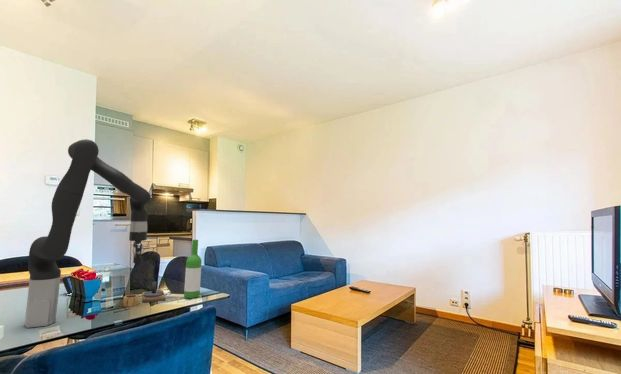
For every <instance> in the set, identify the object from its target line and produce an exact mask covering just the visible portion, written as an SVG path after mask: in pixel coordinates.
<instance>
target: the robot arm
mask: <svg viewBox="0 0 621 374" xmlns="http://www.w3.org/2000/svg"><path fill="white" fill-rule="evenodd" d="M99 152H100V151H99V147H98V144H97V143H96V142H95V141H93V140H92V139H80V140H77V141H75V142H73V143H71V144H70V145H69V146H68V148H67V154H68V157H70V158H71V162H70V166H69V167H68V169H67V171H66V173H65V174H64V175H63V177H62V178H61V180H60V181H59V183H58V185H57V187H56V189H55V192H54V194H53V197H52V201H51V216H52V222H51V228H50V229H49V231H48V234H47V235H46V236H40V237H38V238H36V239H35V240H33V242H32V243H31V244H30V248H29V252H28V264H27V265H28V266H27V268H28V269H27V270H28V273H29V281H28V291H27V298H26V299H27V300H26V307H25V318H24V327H25V328H27V329H28V328H29V329H30V328H37V327H45V326H46V327H47V326H49V325H51V324H53V323H56V321H57V314H58V313H57V312H58V304H59V303H58V302H59V293H60V284H61V283H60V282H61V276H62V270H61V268H59V267H58V264H57V261H58V260H60V259H62V258H64V256H65V255H66V253H67V252H68V249H69V245H70V241H71V235H72V230H73V226H74V223H75V220H76V217H77V214H78V210H79V208H80V205H81V202H82V199H83V197H84V192H85V189H86V187H87V184H88V179H89V176H90V173H91V171H92V172H94V173H95V174H97V175H99V176H100V177H101V178H102V179H104V180H105V181H107V182H108V183H109V184H111V186H113V187H114V188H116V189H117V190H118V191H120V193H122V194H125V195H128V196H129V206H130V211H131V215H130V225H129V235H128V236H129V238H128V239H129V240H128V241H131V242H133V244H132V255H133V262H132V263H133V264H134V266H137V267H138V266H140V265H141V258H142V253H143V244H142V242H143V241H144V242H145V241H146V240H147V239H148V238H147V237H148V210H147V209H146V208H145V205H147V204H149V203H150V201H151V198H152V196H151V193H150V192H149V191H148V190H147V189H145V188H144V187H142V186H141V185H139V184H137V183H135V182H134V181H133V180H132V179H131V178H130V177H128V176H127V175H126V174H124V173H123V172H122V171H120V170H118V169H117V168H115V167H113V166H111V165H109V164H107V163H106V162H104V160H102V159H100V158H99V157H98V156H99Z"/></svg>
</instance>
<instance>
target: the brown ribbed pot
mask: <svg viewBox="0 0 621 374" xmlns="http://www.w3.org/2000/svg"><path fill="white" fill-rule="evenodd" d="M137 306H139V294H127V295H124V296H123V301H122V307H125V308H131V307H132V308H133V307H137Z"/></svg>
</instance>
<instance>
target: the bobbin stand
mask: <svg viewBox="0 0 621 374" xmlns="http://www.w3.org/2000/svg"><path fill="white" fill-rule="evenodd" d="M141 300H142V304H145V303H155V302H165V301H166V296H165V292H164V290H157V281H152V282H151V290H150V291H149V290H148V291H142V292H141Z"/></svg>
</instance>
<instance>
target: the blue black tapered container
mask: <svg viewBox="0 0 621 374" xmlns="http://www.w3.org/2000/svg"><path fill="white" fill-rule="evenodd" d="M70 276H71V275H69V276H64V277H62V279H61V281H62V283H63V285H64V288H65V291H66V295H67V294H70V293H72V286H71V281H70ZM101 291H102V292H105V291H106V288H105V287H102V289H101Z"/></svg>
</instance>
